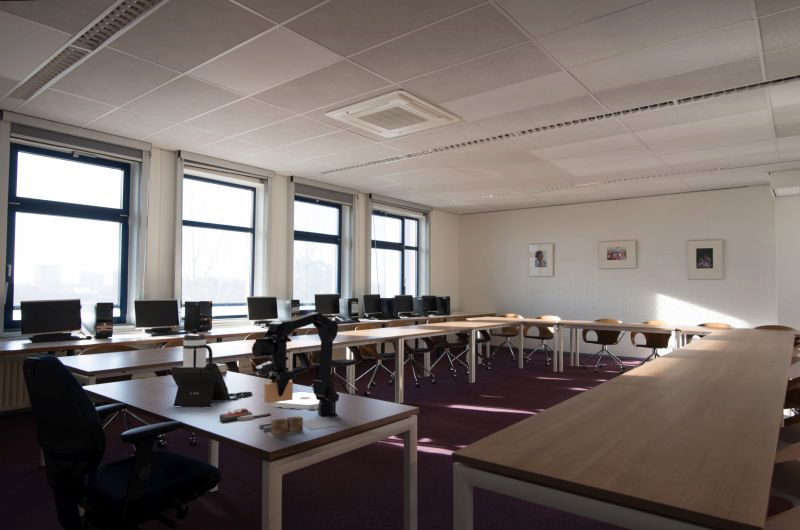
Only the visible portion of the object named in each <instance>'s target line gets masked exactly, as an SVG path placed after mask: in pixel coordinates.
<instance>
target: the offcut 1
mask: <svg viewBox="0 0 800 530" xmlns="http://www.w3.org/2000/svg"><path fill="white" fill-rule="evenodd" d="M270 423H271V435H273V436H276V437H280V436H279V435H282V436H285V435H284V434H287V418H286V417H284V418H279V419H272V420H271V421H270ZM287 435H288V434H287Z"/></svg>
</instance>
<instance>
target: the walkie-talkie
mask: <svg viewBox="0 0 800 530" xmlns="http://www.w3.org/2000/svg"><path fill="white" fill-rule="evenodd" d="M227 412H228V413H221V414H219V422H221V423H222V424H224V423H230V422H241V421H242V422H243V421H250V420H254V419H260V418H263V417H266V416H267V417H268V416H271V415H272V414H271V412H269V413H263V414H256V415H253V413H252V411H249V410H248V408H245V407H242V408H236V409H234V410H233V411H231V410H229V411H227Z"/></svg>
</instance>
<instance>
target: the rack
mask: <svg viewBox="0 0 800 530" xmlns="http://www.w3.org/2000/svg"><path fill="white" fill-rule="evenodd" d="M258 426H259V427H258V429H259V430H261V431H263V432H264V433H265V434H266V435H268V436H269V437H271V438H275V437H276V438H277V436H273V435H271V422H267V423H261V424H259V425H258ZM303 432H306V430H305V429H303V431H301V432H300V433H303ZM297 433H299V432H295V433H288V432H287V434H284V435H279V436H278V437H282V436H286V435H291V434H292V435H293V434H297Z"/></svg>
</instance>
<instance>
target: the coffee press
mask: <svg viewBox="0 0 800 530" xmlns="http://www.w3.org/2000/svg"><path fill="white" fill-rule="evenodd" d="M192 332H193V333H187V334H185V335H184V336H183V338H182V341H183V344H182V367H202V369H203V367H206V364H207V352H208V363H211V362H213V350H212V347H211V346H210V345H208V344H207V340H208V338H207V336H206V334H205V333H202V332H200V333H199V332H198V330H197V329H196V328H194V329H192Z"/></svg>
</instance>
